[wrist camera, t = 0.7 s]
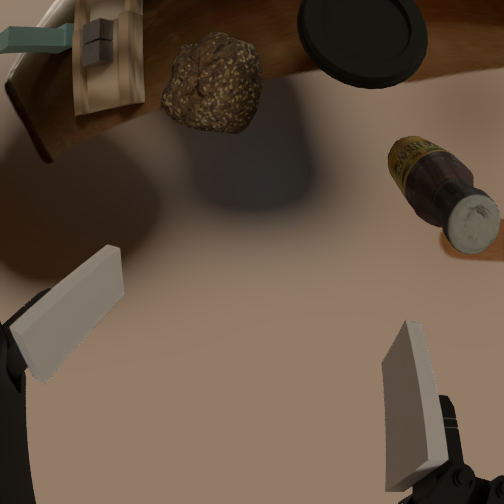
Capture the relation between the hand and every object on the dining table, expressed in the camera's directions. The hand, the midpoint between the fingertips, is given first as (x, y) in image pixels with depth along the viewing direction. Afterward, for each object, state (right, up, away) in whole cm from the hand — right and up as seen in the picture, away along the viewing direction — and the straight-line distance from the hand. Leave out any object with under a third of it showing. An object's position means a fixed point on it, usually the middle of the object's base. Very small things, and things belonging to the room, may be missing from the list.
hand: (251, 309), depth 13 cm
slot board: (-19, +32, +19) cm, 42 cm away
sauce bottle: (+18, +13, +19) cm, 30 cm away
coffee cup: (+11, +24, +15) cm, 31 cm away
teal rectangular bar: (-29, +35, +20) cm, 50 cm away
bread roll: (-4, +23, +20) cm, 31 cm away
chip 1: (-20, +31, +16) cm, 40 cm away
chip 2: (-20, +28, +17) cm, 39 cm away
